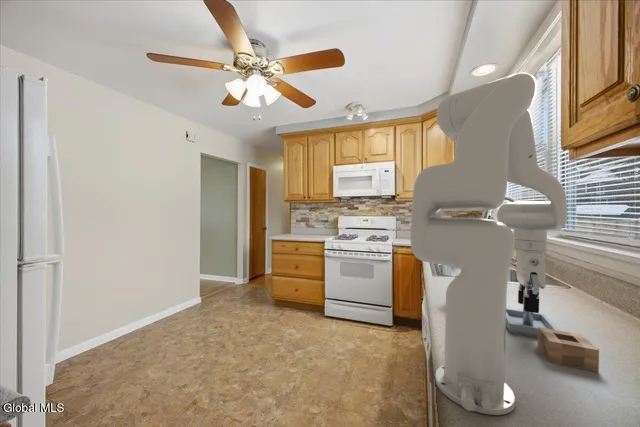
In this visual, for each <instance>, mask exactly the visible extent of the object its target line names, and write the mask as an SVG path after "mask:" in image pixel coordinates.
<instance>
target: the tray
mask: <svg viewBox="0 0 640 427" xmlns="http://www.w3.org/2000/svg"><path fill="white" fill-rule="evenodd" d="M538 327H541V328H547V329H552V330H558V331H561V330H560V329H559V328H558V327H557V326H556V325H555V324H554V322H552V321H551V320H550V319H549V317H547V316H546V315H545V314H544V313H540V312H539V313H534V320H533V326H527V325H524V324H523V310H519V309H512V308H507V307H506V330H508V333H509V334H516V335H519V336H520V335H521V336H526V337H531V338H536V339H538Z"/></svg>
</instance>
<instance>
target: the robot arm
mask: <svg viewBox="0 0 640 427" xmlns="http://www.w3.org/2000/svg"><path fill="white" fill-rule="evenodd" d="M536 94H537V80H536V78H535V76H533V75H532V74H530V73H527V72H518V73H514V74H511V75H508V76H505V77H502V78H498V79H496V80H493V81H490V82H487V83H486V82H485V83H484V84H481V85H478V86H475V87H473V88H470V89H469V88H468V89H466V90H463V91H460V92H457V93H454V94H452V95H449V96H447V97H445V98H444V99H442V100H441V102H439V104H438V106H437V109H436V121H437V124H438V126H439V128H440V130H441V131H442V133H443V134H444V135H445V136H446V137H448V138H449V139H450V140H451V141H452V142H453V143H455V150H454V151H455V152H454V153H455V154H454V159H453V161H452V162H450V163H443V164H435V165H431V166H427V167H426V168H424V169H422V170H421V171H420V172H419V173H418V175H417V177H416V179H415V181H414V186H413V192H412V193H413V194H412V205H411V220H410V248H411V251H412V253H413V255H414V256H415V258H416V259H418V260H419V261H422V262H424V263H425V262H426V263H430V264H434V265H435V264H436V265H442V266H447V267H453V268H456V269H459V270H460V272H459V274H458V275H456V276H457V277H456V278H455V277H454V278H453V279H452V280H451V281H450V282H449V284H448V286H447V288H446V291H445V316H444V317H445V319H444V322H445V323H444V356H443V357H444V358H443V359H444V361H443V362H444V364H442V365H440V366H439V367H438V368H436V370H435V375H434V376H435V380H434V382H435V384H436V385H437V387H438V389H439V390H440V391H441V392H442V394H444V396H446V397H447V398H448V399H450V400H451V401H453V402H454V403H456V404H457V405H460V406H461V407H463V408H464V409H465V410H466V411H467V412H476V413H479V414H485V415H488V416H489V415H492V416H500V415H501V416H502V415H506V414H509V413H511V412H512V411H513V410H514V409H515V407H516V394H514V391H513V390H512V388H511V387H510V386H509V385H508V384H507V383H506V382H505V376H506V375H505V374H506V373H505V372H506V371H505V370H506V336H507V333H506V332H507V331H506V330H507V327H506V308H507V300H508V299H507V295H508V283H509V274H510V269H511V264H512V260H513V255H514V251H516V269H515V274H516V280H517V281H518V292H517V293H518V294H517V303H518V304H520V305H523V297H524V310H525V311H527V312H533V313H540V289H542V290H544V289H546V287H547V286H546V262H545V254H546V253H547V249H548V246H547V244H548V241H547V239H548V237H547V236H548V235H547V234H548V231H549V232H550V231H552V232H554V231H560V230H562V229H563V228H565V226H566V224H567V221H568V205H567V196H566V194H567V193H566V191H565V189H564V186H563V185H562V183H561V182H560V181H559V180H558V179H557V178H556V177H555V176H554V175H553V174H552V173H550V172H549V171H547V170H546V169H544V168H542V167H541V166H539V165H538V164H539V163H538V158H537V157H538V156H537V150H536V142H535V141H536V140H535V133H534V126H533V125H534V124H533V118H532V115H531V112H530V110H529V108H530V107H531V106H532V104H533V103H534V100H535V98H536ZM508 183H511V184H515V185H518V186H520V187H521V186H522V187H525V188H528V189H531V190H535V191H536V192H538V193H541V194H542V195H543V196H545V197H546V198H547V199H548V200H546V201H513V202H512V201H509V202H505V203H504V201H505V197H506V194H507V186H508ZM497 208H498V210H497V211H496V212H497V213H496V219H497V220H495V219H492V218H491V219H490V218H482V217H444V216H443V213H444V212H446V211H447V212H448V211H449V212H454V211H455V212H462V211H463V212H474V211H475V212H481V211H490V210H496V209H497ZM442 216H443V217H442ZM524 289H525V293H526V297H525V296H524Z"/></svg>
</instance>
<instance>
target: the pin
mask: <svg viewBox="0 0 640 427" xmlns="http://www.w3.org/2000/svg"><path fill="white" fill-rule="evenodd" d="M524 296H525V297H526V293H525V289H524ZM522 311H523V324H524V325H527V326H533V320H534V313H533V312H527V311H525V310H524V297H523V304H522Z"/></svg>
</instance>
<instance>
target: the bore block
mask: <svg viewBox="0 0 640 427" xmlns="http://www.w3.org/2000/svg"><path fill="white" fill-rule="evenodd" d="M537 346H538V348H539V349H540V351H541V352H542V354H543V355H544V356H545V358H546V359H547V361H548V362H549V363H553V364H559V365H563V366H566V367H567V366H568V367H571V368H577V369H581V370H586V371H590V372H591V371H592V372H596V373H599V369H600V366H599V365H600V364H599V363H600V361H599V360H600V350H599V349H598V348H597V347H596V346H595V345H594V344H593V343H591V342H590V341H589V339H588V338H586V337H585V336H584V335H583V334H581V333H575V332H571V331H562V330H560V331H558V330H552V329H547V328H541V327H538V338H537Z"/></svg>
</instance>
